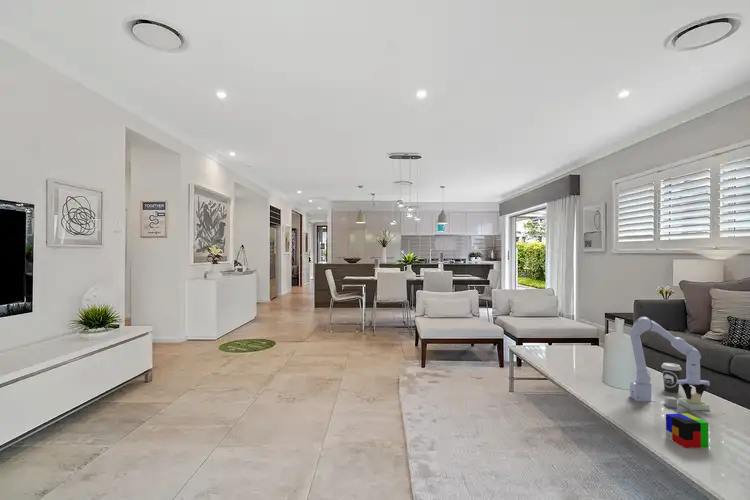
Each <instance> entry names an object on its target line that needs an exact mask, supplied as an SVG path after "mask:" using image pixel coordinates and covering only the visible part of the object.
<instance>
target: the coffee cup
mask: <svg viewBox="0 0 750 500" xmlns="http://www.w3.org/2000/svg"><path fill="white" fill-rule="evenodd" d="M660 368H662V369H661V370H662V377H663V388H664V391H666V392H669V393H675V394H676V393H679V391H680V390H679V389H680V385H679V384H677V380H681V379H680V378H681V371H682V367H681V366H680V364H678V363H671V362H663V363H662V364H661V367H660Z"/></svg>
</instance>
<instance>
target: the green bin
mask: <svg viewBox="0 0 750 500" xmlns="http://www.w3.org/2000/svg"><path fill="white" fill-rule="evenodd" d="M677 404H678V405H680V406H682V407H684V408H686V409H687V410H689V411H693V410H696V411H697V410H698V411H710V404H709V403H706V402H705V401H703V400H701V403H691V402H689V401H687V398H685V397H678V398H677Z"/></svg>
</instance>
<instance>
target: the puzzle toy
mask: <svg viewBox="0 0 750 500" xmlns="http://www.w3.org/2000/svg"><path fill="white" fill-rule="evenodd" d="M666 437H667V439H668V438H669V439H668V440H670V439H671V440H670V441H672V440H673V441H674V443H675V442H676V444H677V445H678V446H681V447H683V448H685V449H697V448H698V449H700V448H709V422H708V421H705V420H703V419H701V418H699V417H696V415H690V414H688V413H682V414H678V413H666V414H665V438H666ZM673 441H672V442H673Z"/></svg>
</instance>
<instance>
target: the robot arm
mask: <svg viewBox="0 0 750 500" xmlns="http://www.w3.org/2000/svg"><path fill="white" fill-rule="evenodd" d="M647 331H650V332H656V333H657V334H659V335H660V336H662V337H663V338H664V339H666V340H668V341H669V342H670V345H671V347H673V348H674V349H676V350H677V351H678V352H680V353H681V354H683V355H685V356H686V362H685V370H686V371H685V372H686V374H685V376H686V377H685V379H680V380H677V384H679V386H681V387H682V389H683V391H684V394H685V397H686V398H688V399H691V392H692V389H693V386H694V387H695V392H697V393H699V394H701V397H702V396H703V393H704V392H705V390H707V386H710V385H711V384H710V381H709V380H705V379H701V361H700V360H701V359H702V355H701V353H700V351H699V350H698V349H697V348H696V347H694V345H691V344H689V343H688V342H687V341H686V340H685V338H681V337H680V336H679V337H678V336H674V335H673V334H671V332H669V331H667V330H666V329H665V328H663V326H661V325H660V324H658V323H657V322H656V321H655V320H652V319H650V318H649V317H647V316H639V318H637V319H636V320H635V321H634V323H633V324H632V327H631V329H630V331H629V336H630V341H631V345H632V351H633V355H634V360H635V361H634V362H635V365H636V379H635V381H634V382H631V383H630V384H629V397H630V398H632V399H633V400H635V401H637V402H656V400H655V399H653V398H652V381H651V380H652V379H651V373H650V371H649V369H648V368H647V364H646V358H645V353H644V349H643V344H642V340H641V336H642V335H643V333H644V332H647ZM692 385H693V386H692Z"/></svg>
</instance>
